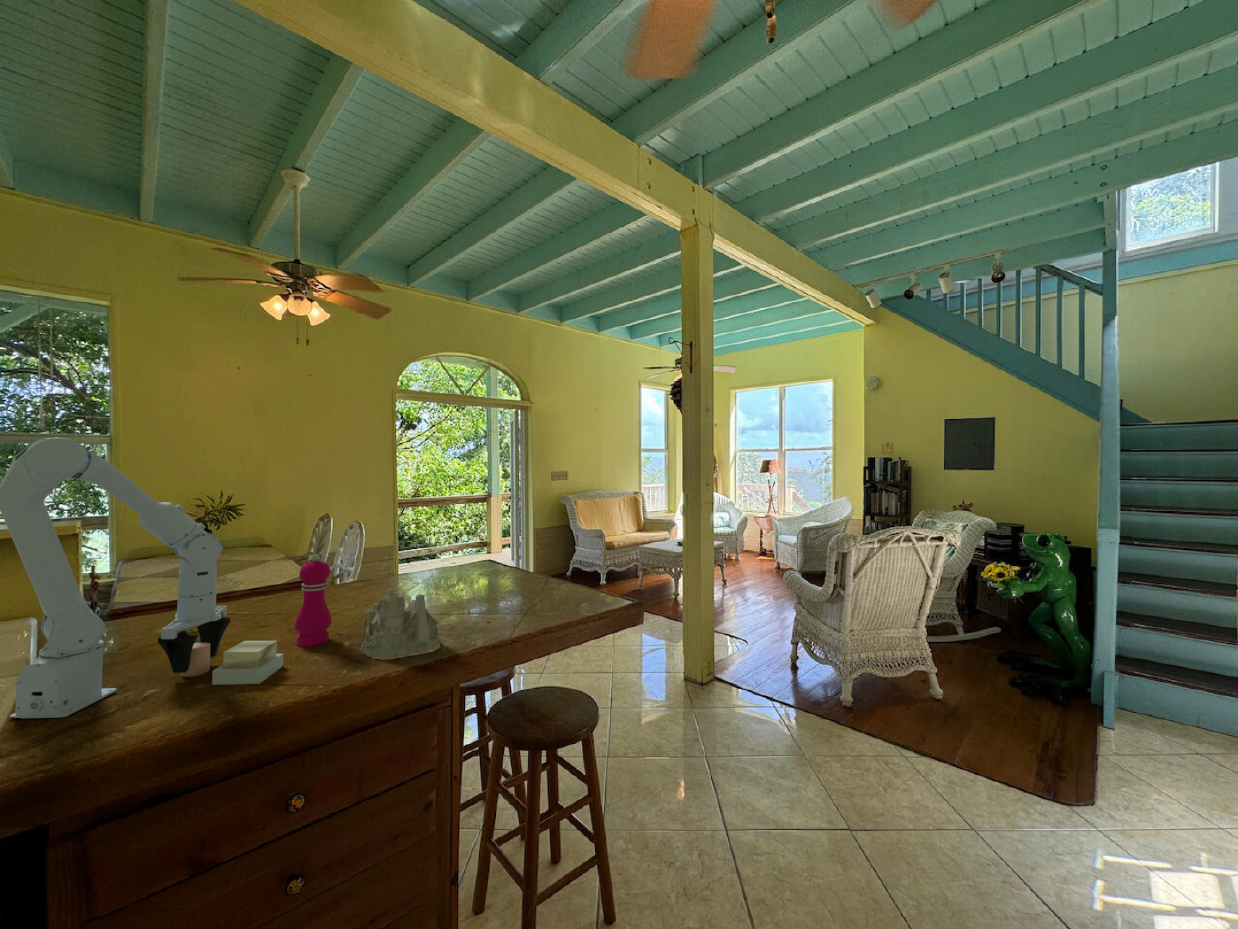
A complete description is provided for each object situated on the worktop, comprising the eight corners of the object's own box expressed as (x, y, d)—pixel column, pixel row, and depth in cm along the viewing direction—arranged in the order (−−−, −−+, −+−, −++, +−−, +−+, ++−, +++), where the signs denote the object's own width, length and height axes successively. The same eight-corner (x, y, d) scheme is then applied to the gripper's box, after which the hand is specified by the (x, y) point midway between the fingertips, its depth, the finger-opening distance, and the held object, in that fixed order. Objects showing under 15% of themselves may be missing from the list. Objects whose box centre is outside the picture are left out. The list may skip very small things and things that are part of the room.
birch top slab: (257, 668, 93) (258, 651, 93) (223, 668, 93) (223, 652, 93) (276, 656, 99) (276, 640, 99) (244, 656, 98) (244, 640, 99)
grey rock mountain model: (445, 652, 110) (443, 583, 111) (361, 667, 102) (360, 593, 103) (434, 634, 124) (433, 573, 124) (359, 647, 116) (358, 581, 116)
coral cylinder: (199, 676, 95) (199, 650, 95) (173, 677, 94) (174, 650, 94) (215, 667, 99) (215, 642, 99) (190, 667, 98) (191, 642, 98)
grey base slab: (259, 686, 92) (259, 669, 92) (212, 687, 91) (212, 670, 91) (282, 668, 100) (283, 653, 100) (239, 669, 99) (240, 654, 99)
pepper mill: (288, 648, 110) (291, 557, 110) (300, 637, 117) (303, 551, 117) (325, 646, 111) (328, 556, 112) (334, 635, 118) (337, 551, 119)
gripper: (192, 603, 90) (190, 679, 90) (243, 584, 104) (241, 649, 104) (149, 604, 89) (147, 680, 89) (206, 584, 103) (204, 650, 103)
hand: (195, 663), depth 97 cm, fingers open, 7 cm apart
